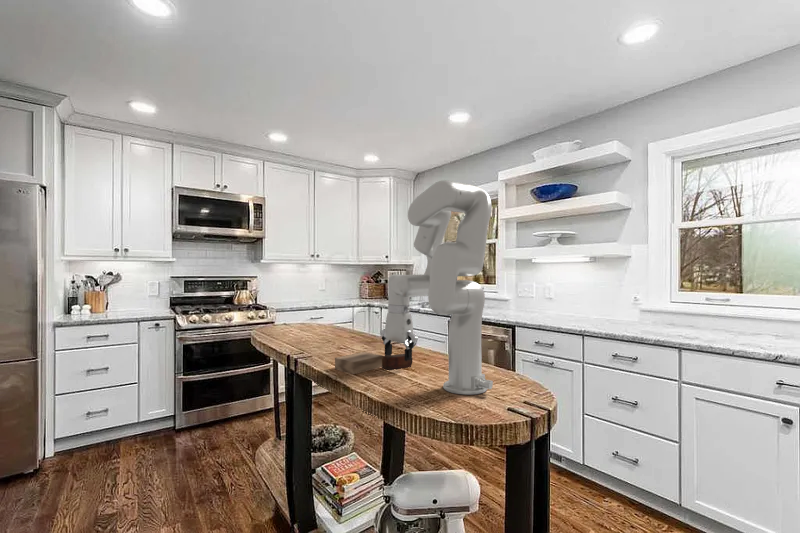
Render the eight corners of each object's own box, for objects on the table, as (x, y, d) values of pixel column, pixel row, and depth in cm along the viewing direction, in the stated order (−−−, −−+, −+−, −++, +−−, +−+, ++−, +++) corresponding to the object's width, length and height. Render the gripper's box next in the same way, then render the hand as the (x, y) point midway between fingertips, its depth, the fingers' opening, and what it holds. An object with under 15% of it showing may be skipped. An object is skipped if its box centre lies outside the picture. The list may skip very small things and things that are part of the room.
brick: (387, 371, 139) (387, 357, 139) (381, 369, 143) (381, 355, 143) (412, 367, 145) (412, 354, 145) (406, 365, 149) (406, 352, 149)
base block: (383, 366, 145) (383, 355, 145) (353, 374, 135) (353, 362, 135) (364, 362, 152) (364, 351, 152) (334, 369, 142) (334, 357, 142)
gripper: (424, 310, 140) (423, 360, 140) (388, 306, 152) (388, 352, 152) (409, 312, 135) (409, 363, 135) (374, 308, 146) (373, 355, 147)
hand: (398, 357), depth 143 cm, fingers open, 9 cm apart
